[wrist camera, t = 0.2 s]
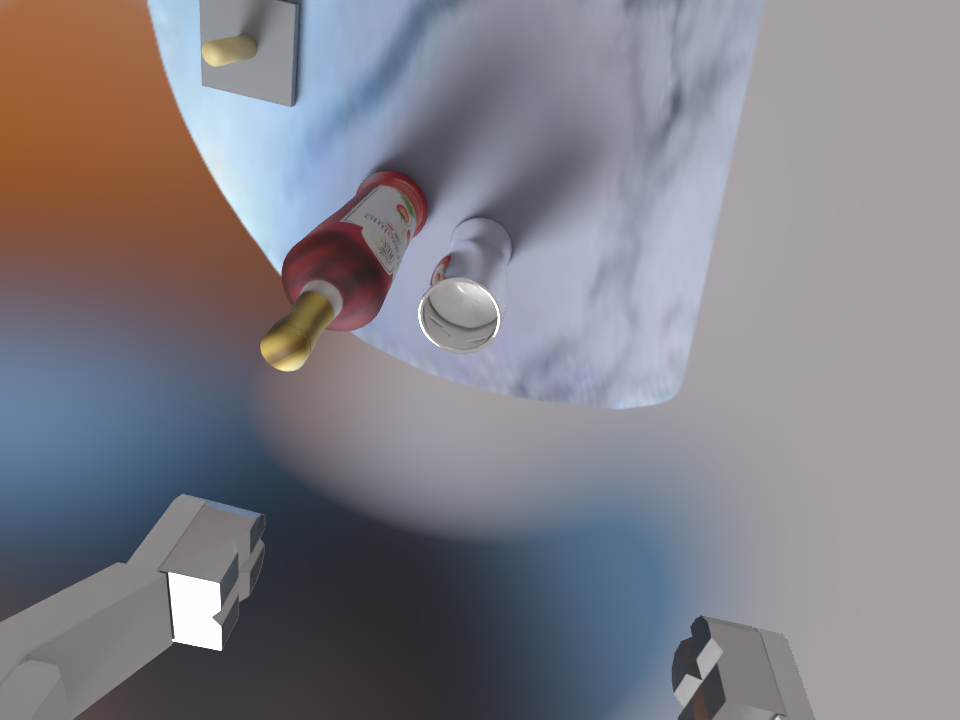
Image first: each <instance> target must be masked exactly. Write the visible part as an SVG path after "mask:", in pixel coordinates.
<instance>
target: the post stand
mask: <svg viewBox="0 0 960 720" xmlns="http://www.w3.org/2000/svg"><path fill="white" fill-rule="evenodd" d="M299 6H300V4H295V3H291V2H287V1H283V0H200V33H201V68H202V86H206V87H210V88H215V89H219V90H223V91H227V92H231V93H235V94H239V95H243V96H248V97H252V98H256V99H260V100H264V101H268V102H272V103H276V104H281V105H285V106H289V107H292V106H294V105H295V94H296V72H297V50H298V28H299Z"/></svg>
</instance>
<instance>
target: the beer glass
mask: <svg viewBox="0 0 960 720" xmlns="http://www.w3.org/2000/svg"><path fill="white" fill-rule="evenodd" d="M511 254H512V243H511V239H510V237H509V235H508V233H507V231H506V230H505V229H504V228H503V227H502V226H501V225H500V224H499V223H497V222H496V221H494V220H491V219H488V218H482V217H477V218H471V219H468V220H466V221H464V222H463V223H461V224H460V225H459V226H458V227H457V228H456V229H455V231H454V232H453V234H452V236H451V240H450V249H449V250H448V251H447V252H446V253H445V254H444V255H443V256H442V257H441V258H440V259H439V260H438V262H437V263H436V264H435V265H434V267H433V269H432V270H431V272H430V274H429V276H428V278H427V281H426V284H425V287H424V290H423V294H422V298H421V301H420V304H419V308H418V317H419V322H420V325H421V328H422V330H423V332H424V333H425V335H426V336H427V337H428V338H429V340H431V341H432V342H433V343H434V344H435V345H437V346H438V347H440V348H442V349H444V350H446V351H449V352H453V353H461V354H466V353H473V352H477V351H479V350H482V349H484V348H485V347H487V346H488V345H490V344H491V343H492V342H493V341H494V340H495V338H496V337H497V335H498V333H499V331H500V329H501V325H502V321H503V319H504V316H505V313H506V309H507V305H508V299H509V280H508V274H507V270H506V266H507V264H508V262H509V260H510V258H511Z"/></svg>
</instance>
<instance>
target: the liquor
mask: <svg viewBox="0 0 960 720" xmlns="http://www.w3.org/2000/svg"><path fill="white" fill-rule="evenodd" d="M426 218H427V204H426V200H425V197H424V195H423V193H422V191H421V189H420V188H419V187H418V186H417V184H416V183H415V182H414V181H412V180H411V179H410V178H408V177H407V176H405V175H403V174H400V173H398V172H393V171H381V172H377V173H374V174H372V175H370V176H369V177H367V178H366V179H365V180H364V181H363V182H362V183H361V185H360V186H359V188H358V190H357V193H356V196H355V197H353V198H352V199H351V200H350V201H349V202H348V203H346V204H345V205H344V206H343V207H342V208H341V209H339V210H338V211H337V212H335V213H334V214H333V215H331V216H330V217H329V218H327V219H326V220H325V221H323V222H322V223H321V224H320V225H318V226H317V227H316V228H315V229H314V230H313V231H311V232H310V233H309V234H308V235H307V236H306V237H305V238H303V239H302V240H301V241H300V242H298V243H297V244H296V245H295V246H294V247H292V249H291V250H290V251H289V253H288V254H287V256H286V258H285V260H284V262H283V267H282V284H283V288H284V291H285V293H286V296H287V298H288V300H289V301H290V303H291V304H292V306H293V307H292V308H291V310H290V312H289V314H288V315H287V316H285V317H283V318H282V319H280V320H279V321H278V322H276V323H275V325H274V326H273V327H272V328H271V329H270V330H269V332H268V333H267V334H266V335H265V336H264V338H263V339H262V341H261V352H262V355H263V357H264V358H265V360H266V361H267V362H268V363H269V364H270V365H272V366H273V367H275V368H277V369H279V370H283V371H294V370H297V369H299V368H300V367H301V366H302V365H303V364H304V362H305V361H306V359H307V358H308V357H309V355H310V353H311V352H312V351H313V349H314V347H315V344H316V341H317V338H318V336H319V335H320V334H321V333H322V332H323V330H324V329H327V330H332V331H352V330H356V329H359V328H361V327H364V326H365V325H367V324H368V323H370V322H371V321H372V320H373V319H374V318H375V317H376V316H377V314H378V312H379V311H380V309H381V307H382V305H383V302H384V300H385V298H386V295H387V293H388V291H389V289H390V287H391V285H392V283H393V280H394V278H395V276H396V273H397V271H398V268H399V265H400V263H401V260H402V258H403V256H404V253H405V251H406V249H407V247H408V245H409V243H410V240H411V239H412V238H413V237H415V236H416V235H417V234H418V233H419V232H420V231H421V230H422V228H423V226H424V224H425V221H426Z"/></svg>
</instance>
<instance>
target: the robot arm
mask: <svg viewBox="0 0 960 720" xmlns="http://www.w3.org/2000/svg"><path fill="white" fill-rule="evenodd" d="M264 529H265V516H264V515H263V514H259V513H255V512H252V511H248V510H244V509H240V508H236V507H232V506H228V505H225V504H221V503H217V502H213V501H209V500H205V499H201V498H196V497H193V496H189V495H185V494H182V495H181V496H179V497H178V498H176V499H175V500H174V501H173V502H172V504H171V505H170V506H169V508H168V509H167V510H166V512H165V513H164V514H163V516H162V517H161V518H160V520H159V521H158V522H157V524H156V525H155V526H154V528H153V529H152V530H151V532H150V533H149V534H148V536H147V537H146V538H145V540H144V541H143V542H142V544H141V545H140V546H139V548H138V549H137V550H136V552H135V553H134V554H133V556H132V557H131V558H130V559H129V561H128V562H127V563H126V564H122V563H116V564H114V565H112V566H110V567H108V568H106V569H104V570H102V571H100V572H98V573H96V574H94V575H92V576H90V577H88V578H86V579H84V580H82V581H80V582H78V583H76V584H74V585H73V586H71V587H69V588H67V589H65V590H63V591H61V592H59V593H57V594H55V595H53V596H51V597H49V598H47V599H45V600H43V601H41V602H39V603H37V604H35V605H33V606H31V607H29V608H28V609H26V610H24V611H22V612H20V613H18V614H16V615H14V616H12V617H10V618H8V619H6V620H4V621H2V622H0V720H73V718H75V717H76V716H77V715H78V714H80V713H81V712H83V711H84V710H85V709H86V708H88V707H89V706H91V705H92V704H93V703H95V702H96V701H97V700H98V699H100V698H101V697H103V696H104V695H105V694H107V693H108V692H109V691H110V690H112V689H113V688H115V687H116V686H117V685H119V684H120V683H121V682H122V681H124V680H125V679H127V678H128V677H129V676H131V675H132V674H133V673H134V672H136V671H137V670H139V669H140V668H141V667H142V666H144V665H145V664H147V663H148V662H149V661H150V660H152V659H153V658H155V657H156V656H157V655H159V654H160V653H161V652H162V651H164V650H165V649H166V648H168V647H169V646H170V645H172V643H173V641H177V642H182V643H187V644H192V645H198V646H202V647H207V648H212V649H217V650H222V648H223V646H224V644H225V642H226V640H227V638H228V636H229V634H230V633H231V631H232V629H233V627H234V625H235V623H236V621H237V619H238V615H239V614H238V613H239V602H240V601H241V600H243V599H245V598H246V597H248V596H249V595H250V593H251V591H252V589H253V587H254V585H255V583H256V581H257V578H258V575H259V572H260V569H261V566H262V561H263V557H264V543H263V542H262V541H261V539H260V536H261V534H262V532H263V531H264ZM690 628H691V633H692V637H690V638H688V639H685V640H683V641H681V643H680V644H679V646H678V648H677V649H676V652H675V654H674V659H673V664H672V685H673V692H674V695H675V696H676V697H677V699H678V700H679V702H680V703H681V704H682V706H683V707H684V709H683V710H682V712H681V714H680V715H679V717H678V720H815V717H814V714H813V711H812V709H811V706H810V703H809V700H808V697H807V694H806V692H805V688H804V686H803V683H802V680H801V677H800V674H799V671H798V668H797V666H796V663H795V660H794V657H793V654H792V651H791V649H790V646H789V643H788V640H787V639H786V638H785V636H784V635H783V634H779V633H776V632H771V631H767V630H763V629H758V628H753V627H752V626H747V625H743V624H738V623H733V622H729V621H724V620H720V619H715V618H711V617H706V616H700V617H698V618H696V619H695V621H694V622H693V623H692V625H691V627H690Z"/></svg>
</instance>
